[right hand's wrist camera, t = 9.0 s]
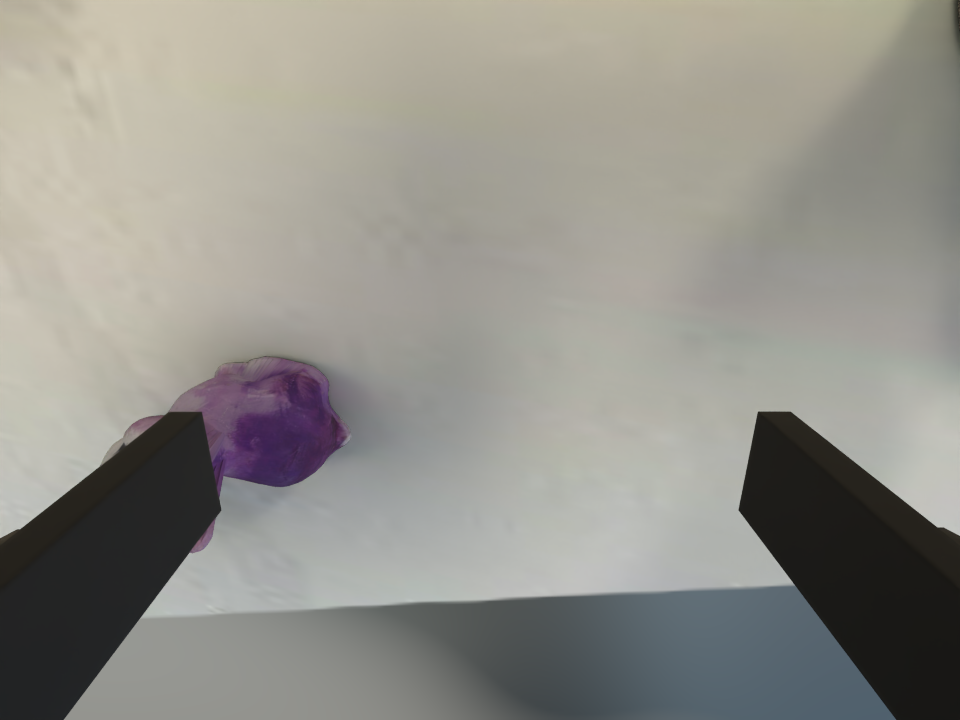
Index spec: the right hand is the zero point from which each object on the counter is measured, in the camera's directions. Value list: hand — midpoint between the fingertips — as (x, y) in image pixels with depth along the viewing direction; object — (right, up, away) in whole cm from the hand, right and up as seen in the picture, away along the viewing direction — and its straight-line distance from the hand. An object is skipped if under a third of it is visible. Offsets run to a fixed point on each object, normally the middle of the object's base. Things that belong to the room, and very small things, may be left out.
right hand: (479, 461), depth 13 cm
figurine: (-16, -1, +27) cm, 31 cm away
